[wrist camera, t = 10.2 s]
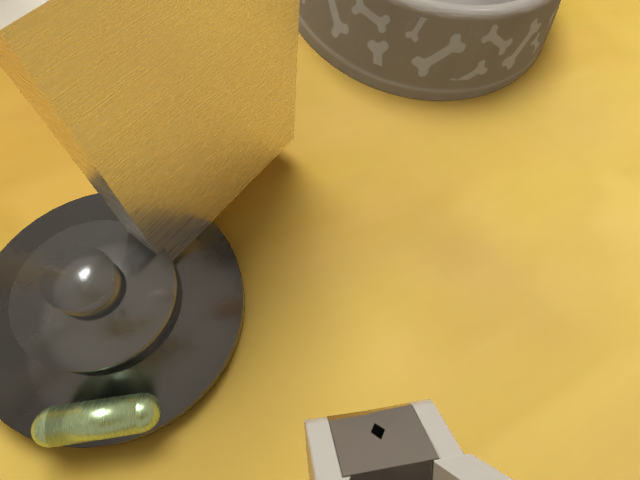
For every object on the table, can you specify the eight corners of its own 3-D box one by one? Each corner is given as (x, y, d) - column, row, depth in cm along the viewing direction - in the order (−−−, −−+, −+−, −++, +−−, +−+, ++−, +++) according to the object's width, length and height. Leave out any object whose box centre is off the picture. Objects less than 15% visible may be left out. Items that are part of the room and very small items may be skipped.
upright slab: (102, 409, 16) (-284, 363, 5) (-3, 313, 17) (-507, 105, 6) (328, 161, 21) (376, -119, 10) (237, 100, 22) (195, -210, 12)
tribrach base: (-40, 469, 16) (-92, 475, 14) (2, 211, 20) (-32, 185, 18) (255, 422, 17) (251, 420, 15) (235, 191, 22) (230, 164, 20)
